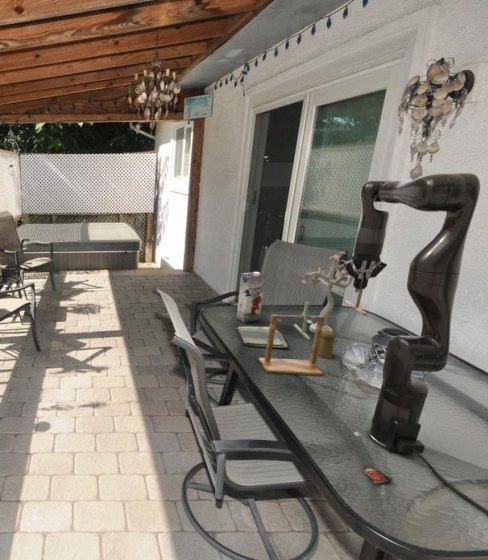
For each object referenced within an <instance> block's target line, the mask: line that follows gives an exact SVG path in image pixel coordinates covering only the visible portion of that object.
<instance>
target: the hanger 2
mask: <svg viewBox="0 0 488 560" xmlns="http://www.w3.org/2000/svg"><path fill="white" fill-rule="evenodd" d="M364 276H365V275H362V282H361V286H360V289H356V288H354V293H357V298H356V301H355V304H353V303H352V302H350V301H348V300H347V299H344V300H343V303H344V304H346V305H347V306H349V307H351V308H352V309H354V310H355V311H357V312H358V313H359V314H361V315H363V316H366V315H367V312H366V311H364V310H363V309H361V308H360V303H361V300H362V295H363V292H364V289H361V288H362V284H363V280H364Z"/></svg>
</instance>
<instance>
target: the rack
mask: <svg viewBox="0 0 488 560" xmlns="http://www.w3.org/2000/svg"><path fill="white" fill-rule="evenodd" d="M319 315H320V314H319ZM319 315H308V318H307V320H316V323H317V325H316V331H315V333H314V336H313V341H312V348H311V352H310V359H297V358H295V359H294V358H273V357H272V354H273V348H272V347H273V341H274V334H275V330H276V327H277V321H278V319H293V320H294V319H296V320H299V319H301V320H304V316H302V315H297V314H295V315H292V314H291V315H289V314H274V313H273V314H271V315H270V321H269V326H268V327H269V334H268V341H267V347H265V348H266V349H265V356H264V357H258V361H259V362H260V364H261V365H262V367H263V368H264V370H265V371H266V373H269V374H286V375H287V374H289V375H292V374H293V375H308V376H311V375H312V376H323V372H322V371H321V370H320V369H319V367H317V365H316V364H317V360H318V350H319V345H320V340H321V338H322V337H321V335H322V330H323V325H324V319H325V317H324V316H319Z"/></svg>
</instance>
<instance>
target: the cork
mask: <svg viewBox="0 0 488 560" xmlns="http://www.w3.org/2000/svg"><path fill="white" fill-rule="evenodd" d="M336 335H337V334H336V333H335V332H334V331H329V330H323V331H322V335H321V340H320V345H319V350H318V355H317V357H321V358H325V359H332V358H333V356H334V340H335V339H336V337H337V336H336Z"/></svg>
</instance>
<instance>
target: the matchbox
mask: <svg viewBox="0 0 488 560" xmlns="http://www.w3.org/2000/svg"><path fill="white" fill-rule="evenodd" d="M363 471H364V473H365V474H367V476H368V477H370V479H372V482H373V483H374V484H376V485H378V483H379V484H381V483H386V482H389V481H391V480H392V478H390V477H389V476H388V475H387V474H385V473H384V472H382V471H380V470H378V469H374V468H372V467H367V468H365V470H363Z"/></svg>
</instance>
